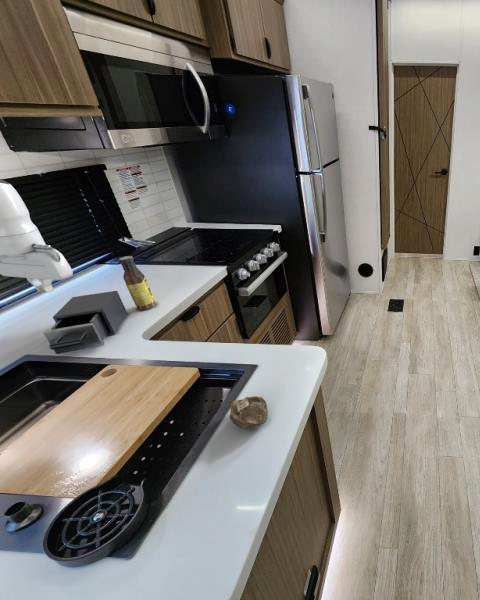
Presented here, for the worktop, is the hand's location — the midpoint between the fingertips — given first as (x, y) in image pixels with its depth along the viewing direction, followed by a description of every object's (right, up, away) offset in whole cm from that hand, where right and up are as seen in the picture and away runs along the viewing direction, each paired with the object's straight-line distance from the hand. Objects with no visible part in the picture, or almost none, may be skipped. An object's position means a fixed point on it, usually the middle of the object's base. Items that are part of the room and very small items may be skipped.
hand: (46, 291), depth 91 cm
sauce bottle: (+1, -5, +35) cm, 36 cm away
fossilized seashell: (+63, -31, -14) cm, 71 cm away
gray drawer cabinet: (-6, -12, +22) cm, 26 cm away
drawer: (-1, -16, +13) cm, 20 cm away
